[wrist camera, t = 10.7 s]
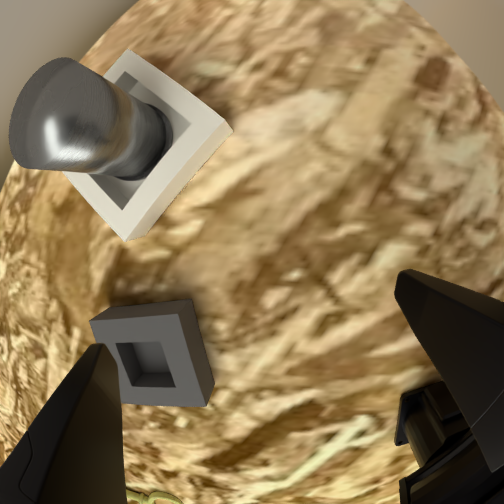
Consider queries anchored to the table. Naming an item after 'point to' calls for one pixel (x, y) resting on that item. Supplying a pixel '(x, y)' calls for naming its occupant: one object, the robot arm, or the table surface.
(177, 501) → the key
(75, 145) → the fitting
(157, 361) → the block
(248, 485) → the table surface
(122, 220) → the tray
